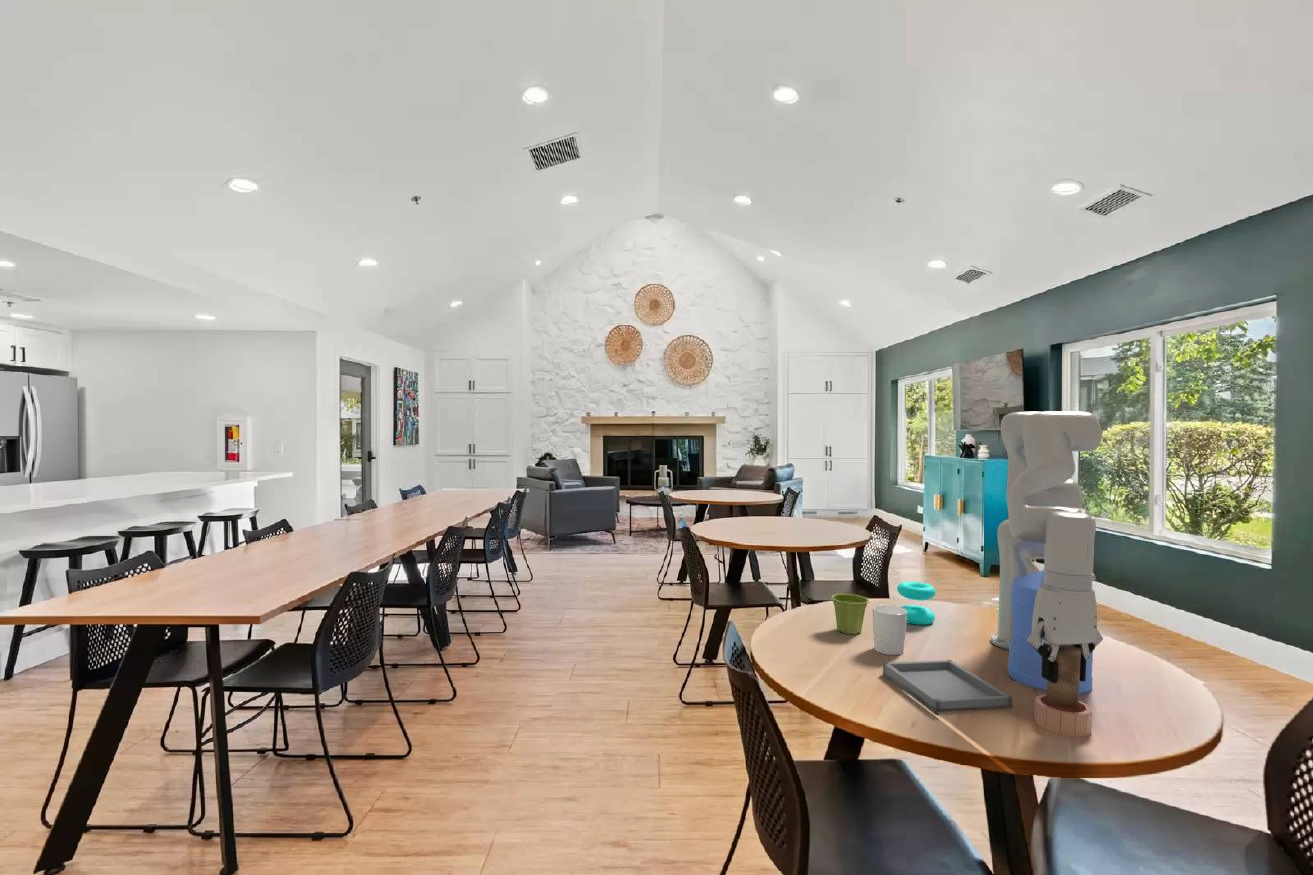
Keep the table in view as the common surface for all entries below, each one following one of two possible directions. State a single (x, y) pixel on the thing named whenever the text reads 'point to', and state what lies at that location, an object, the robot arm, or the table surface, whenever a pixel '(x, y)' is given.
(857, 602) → the plant pot
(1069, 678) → the walnut cylinder
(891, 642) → the white cup
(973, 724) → the table surface
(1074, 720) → the terracotta cup
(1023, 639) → the water jug
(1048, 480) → the robot arm
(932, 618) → the donuts
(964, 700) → the slate tray
